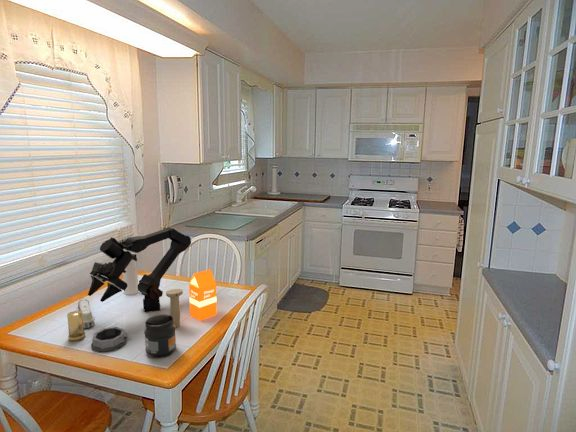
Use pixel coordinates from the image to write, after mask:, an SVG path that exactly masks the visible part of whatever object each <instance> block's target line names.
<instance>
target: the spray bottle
mask: <svg viewBox="0 0 576 432" xmlns="http://www.w3.org/2000/svg"><path fill="white" fill-rule="evenodd" d="M124 251H128V250H125V249H124ZM129 252H130V253H131V254H135V252H132V251H129ZM125 271H126V272H125V273H122V280H123V281H124V282H126V283H127V288H126V290H125V291H124V290H123V293H124V295H129V296H130V295H136V294H138V293H139V291H138V284H139V277H138V260H137V261H134V260H131V262H130V263H129V265H128V266H127V267H126V269H125Z"/></svg>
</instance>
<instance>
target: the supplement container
mask: <svg viewBox="0 0 576 432" xmlns="http://www.w3.org/2000/svg"><path fill="white" fill-rule="evenodd" d="M144 324H145V325H144V326H145V328H144V333H143V334H144V343H145V344H144V345H145V349H144V350H145V353H146V355H147V356H148V357H151V358H155V359H159V358H161V359H162V358H165V357H168V356H170V355H171V354H173V353H174V352H175V351H176V348H177V339H176V338H177V337H176V328H177V327H175V325H174V318H173V317H172V316H170V314H163V313H162V314H156V315H153V316H150V317H148V318H147V319H146V320H145V322H144Z"/></svg>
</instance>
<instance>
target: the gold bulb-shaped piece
mask: <svg viewBox="0 0 576 432" xmlns="http://www.w3.org/2000/svg"><path fill="white" fill-rule="evenodd" d="M66 314H67V315H66V316H67V317H66V318H67V328H68V342H71V343H75V342H80V341H83V340H84V339H86V331H85V328H84V325H83V313H82V311H80V310H73V311H70V312H68V313H66Z"/></svg>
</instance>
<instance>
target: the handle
mask: <svg viewBox="0 0 576 432" xmlns="http://www.w3.org/2000/svg"><path fill="white" fill-rule="evenodd" d="M183 294H184V293H183V289H181V288H173V289H169V290H167V291H166V292H165V295H166V297H168V298H170V299H169V300H170V302H169V303H170V305H169V306H170V307H169V315H170V316H172V317H173V318H174V325H175V327H176V328H178V327H180V325H181V305H180V296H182V295H183Z"/></svg>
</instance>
